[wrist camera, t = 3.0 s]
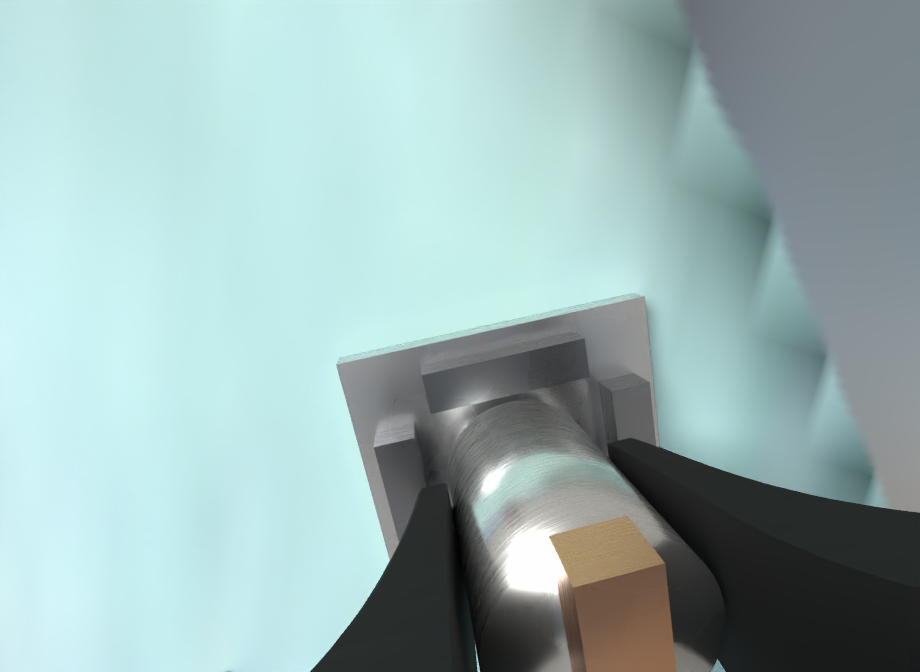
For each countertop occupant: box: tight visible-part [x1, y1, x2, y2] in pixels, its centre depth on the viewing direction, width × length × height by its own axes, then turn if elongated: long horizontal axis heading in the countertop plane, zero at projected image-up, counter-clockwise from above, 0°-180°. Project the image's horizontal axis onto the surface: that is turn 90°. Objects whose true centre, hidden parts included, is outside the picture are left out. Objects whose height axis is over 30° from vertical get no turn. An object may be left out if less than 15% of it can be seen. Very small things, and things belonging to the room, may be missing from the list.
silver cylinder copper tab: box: [447, 400, 726, 672], centre depth 9 cm, size 4×4×6 cm
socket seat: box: [336, 293, 660, 560], centre depth 12 cm, size 8×8×1 cm
